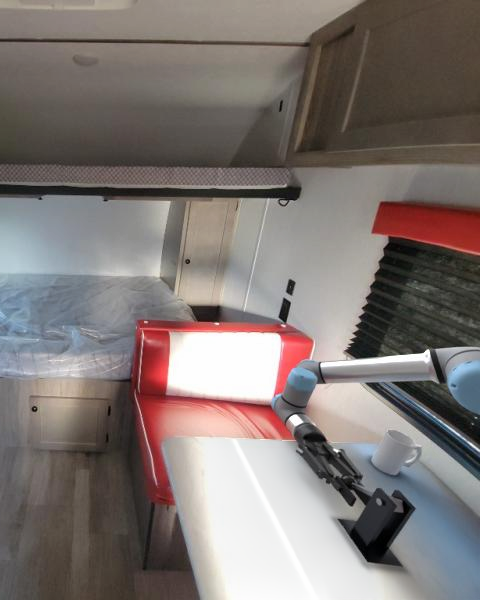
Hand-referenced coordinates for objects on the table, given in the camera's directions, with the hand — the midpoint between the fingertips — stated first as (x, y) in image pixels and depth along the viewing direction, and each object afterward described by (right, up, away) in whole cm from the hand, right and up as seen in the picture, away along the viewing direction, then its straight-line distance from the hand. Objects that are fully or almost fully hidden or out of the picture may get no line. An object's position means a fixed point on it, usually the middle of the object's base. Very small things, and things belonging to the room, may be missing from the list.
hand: (362, 503), depth 81 cm
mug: (+26, -2, +21) cm, 33 cm away
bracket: (-1, -8, -2) cm, 9 cm away
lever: (0, +2, -2) cm, 2 cm away
